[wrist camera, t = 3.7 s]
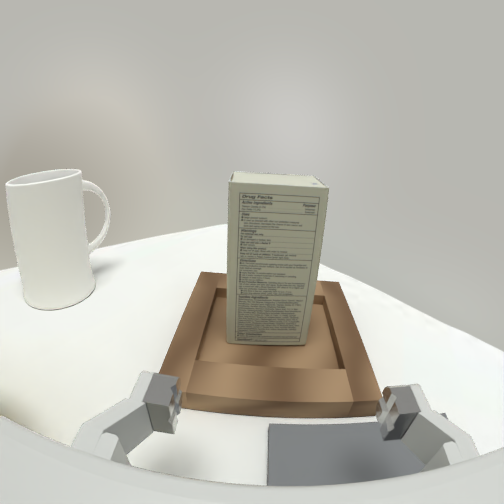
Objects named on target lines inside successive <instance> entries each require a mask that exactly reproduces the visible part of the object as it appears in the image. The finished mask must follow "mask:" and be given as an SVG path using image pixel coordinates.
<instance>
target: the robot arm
mask: <svg viewBox="0 0 504 504" xmlns="http://www.w3.org/2000/svg"><path fill="white" fill-rule="evenodd" d="M180 386H181V379H180V377H175V376H170V375H164V374H159V373H153V372H148V371H142V372H141V373H140V376H139V378H138V380H137V382H136V384H135V386H134V389H133V391H132V393H131V395H130V398H129V399H126V398H125V399H124V400H122V401H120V402H119V403H117V404H115V405H114V406H112V407H110V408H109V409H107V410H105V411H104V412H102V413H100V414H99V415H97V416H95V417H93V418H92V419H90V420H88V421H87V422H85V423H83V424H82V425H81V427H80V429H79V431H78V433H77V435H76V437H75V439H74V441H73V443H72V445H71V447H70V446H68V445H65V444H62V443H60V442H57V441H55V440H53V439H50V438H48V437H45V436H43V435H41V434H39V433H36V432H34V431H32V430H30V429H28V428H26V427H23V426H21V425H19V424H17V423H15V422H14V421H12V420H10V419H8V418H6V417H3V416H0V504H504V447H503V448H500V449H497V450H495V451H492V452H489V453H487V454H484V455H481V456H480V455H479V453H478V451H477V448H476V446H475V444H474V442H473V440H472V438H471V436H470V435H469V434H467V433H466V432H464V431H463V430H462V429H460V428H459V427H457V426H456V425H455V424H453V423H452V422H450V421H449V420H447V419H446V418H445V417H443V416H442V415H440V414H439V413H438V412H436V411H435V410H433V411H432V410H431V408H430V405H429V403H428V401H427V399H426V397H425V395H424V393H423V390H422V388H421V386H420V385H419V384H412V385H399V386H387V387H386V388H385V389H384V390H383V392H382V393H383V396H384V397H382V398H381V399H380V400H379V401H378V403H377V405H376V418H377V421H378V422H379V423H380V424H382V425H381V427H380V432H381V435H382V439H383V441H389V440H399V439H401V441H402V442H403V443H404V444H405V445H406V446H407V447H408V448H409V449H410V450H411V451H412V452H413V453H414V454H415V455H416V456H417V457H418V458H419V459H420V460H421V461H422V462H423V463H424V465H425V467H424V468H423V469H422V470H421V471H420V472H419V473H415V474H410V475H405V476H400V477H394V478H388V479H381V480H374V481H367V482H358V483H348V484H336V485H319V486H261V485H244V484H232V483H222V482H213V481H206V480H199V479H192V478H186V477H180V476H174V475H169V474H164V473H159V472H155V471H150V470H146V469H142V468H138V467H134V466H131V464H130V462H129V460H128V458H127V456H126V455H127V454H128V453H129V452H130V451H132V450H133V449H134V448H135V447H136V446H138V445H139V444H140V443H141V442H142V441H143V440H145V439H146V438H147V437H148V436H149V435H150V434H152V433H153V431H157V432H163V433H169V434H174V433H175V429H176V426H177V422H178V420H177V415H178V414H179V413H180V411H181V408H182V391H181V390H180Z"/></svg>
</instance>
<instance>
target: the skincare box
mask: <svg viewBox="0 0 504 504" xmlns="http://www.w3.org/2000/svg"><path fill="white" fill-rule="evenodd" d="M328 193H329V187H328V186H326V185H325V184H324V183H323V182H322V181H320V180H319V179H318V178H317V177H316V176H310V175H309V176H308V175H293V174H278V173H276V174H275V173H258V172H237V171H234V172H233V173H232V175H231V177H230V179H229V196H228V240H227V312H226V325H227V329H226V334H227V338H226V340H227V342H228V343H232V344H250V345H305V344H306V340H307V335H308V329H309V324H310V318H311V312H312V306H313V300H314V294H315V288H316V282H317V276H318V269H319V262H320V256H321V248H322V241H323V233H324V226H325V218H326V210H327V202H328Z"/></svg>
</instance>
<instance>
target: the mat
mask: <svg viewBox="0 0 504 504" xmlns="http://www.w3.org/2000/svg"><path fill="white" fill-rule="evenodd" d="M440 415H442V416H443V417H445V418H446V419H447V420H448V418H447V416H446V414H445V413H442V414H440ZM381 425H382V424H380V423H379V422H368V423H352V424H320V425H301V424H269V429H268V477H267V486H319V485H336V484H348V483H358V482H367V481H374V480H381V479H388V478H394V477H400V476H405V475H410V474H415V473H419V472H420V471H421V470H422V469H423V468H424V467H425V465H424V463H423V462H422V461H421V460H420V459H419V458H418V457H417V456H416V455H415V454H414V453H413V452H412V451H411V450H410V449H409V448H408V447H407V446H406V445H405V444H404V443H403V442H402V441H401V439H399V440H389V441H383V439H382V435H381V432H380V427H381Z"/></svg>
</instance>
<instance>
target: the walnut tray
mask: <svg viewBox="0 0 504 504" xmlns="http://www.w3.org/2000/svg"><path fill="white" fill-rule="evenodd" d="M226 312H227V274H223V273H212V272H201V273H200V276H199V278H198V280H197V283H196V285H195V287H194V290H193V292H192V294H191V297H190V299H189V301H188V304H187V306H186V308H185V311H184V313H183V315H182V318H181V320H180V323H179V325H178V328H177V330H176V332H175V335H174V337H173V340H172V342H171V345H170V347H169V349H168V352H167V354H166V357H165V359H164V362H163V364H162V367H161V369H160V372H159V374H164V375H170V376H175V377H180V379H181V386H180V390H181V391H182V408H187V409H194V410H201V411H209V412H218V413H227V414H238V415H250V416H265V417H289V418H338V417H361V416H375V415H376V405H377V403H378V401H379V400H380V399H381V398H382V395H381V392H380V389H379V386H378V383H377V380H376V377H375V375H374V372H373V369H372V366H371V364H370V361H369V358H368V355H367V353H366V350H365V347H364V345H363V342H362V339H361V337H360V334H359V331H358V329H357V326H356V324H355V321H354V319H353V316H352V314H351V311H350V309H349V306H348V304H347V301H346V299H345V296H344V294H343V291H342V289H341V286H340V284H339V282H330V281H317V282H316V288H315V294H314V300H313V306H312V312H311V318H310V324H309V329H308V335H307V340H306V344H305V345H250V344H232V343H228V342H227V340H226V338H227V334H226V329H227V325H226Z"/></svg>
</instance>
